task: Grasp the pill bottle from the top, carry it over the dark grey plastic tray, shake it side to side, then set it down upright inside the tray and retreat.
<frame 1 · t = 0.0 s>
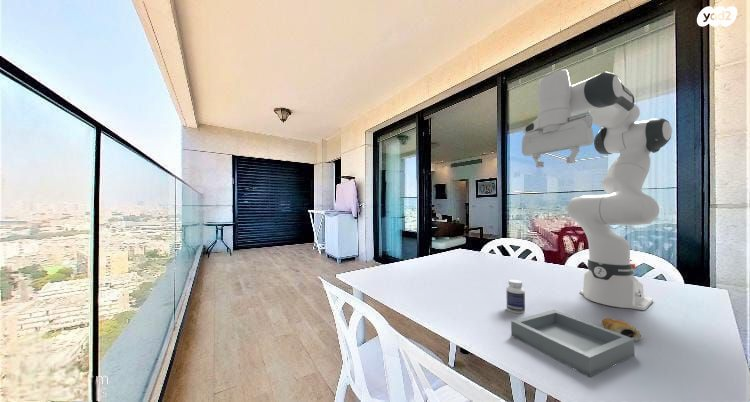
hand: (554, 165, 82), 48 cm above the table, tool pointing down, fingers open, 8 cm apart
pill bottle: (515, 311, 85), on the table
tray: (568, 345, 64), on the table
pastry: (618, 335, 70), on the table
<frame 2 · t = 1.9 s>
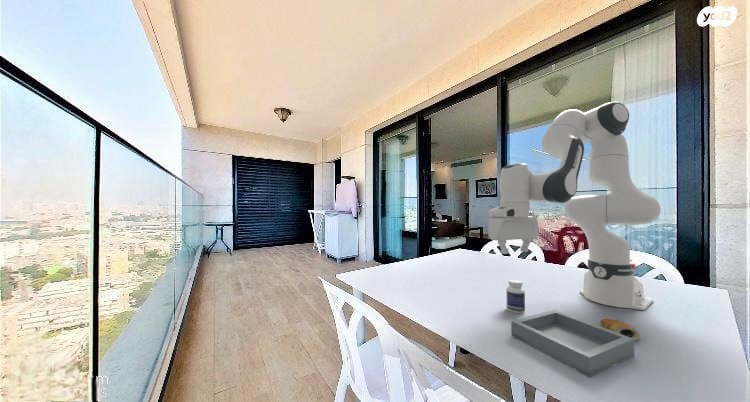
hand: (514, 252, 85), 19 cm above the table, tool pointing down, fingers open, 8 cm apart
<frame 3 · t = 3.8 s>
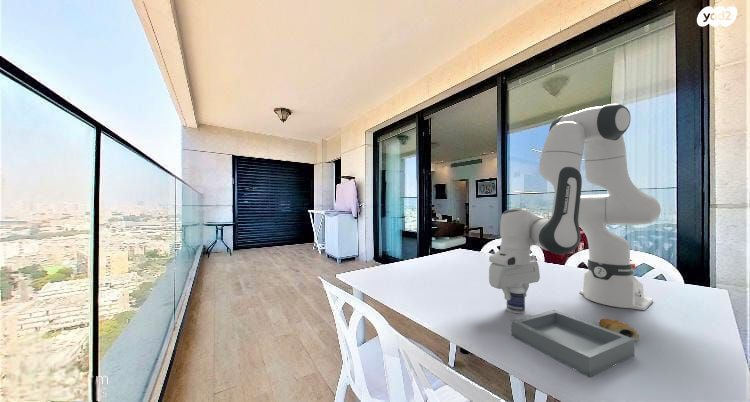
hand: (515, 298, 85), 4 cm above the table, tool pointing down, fingers closed on pill bottle, 5 cm apart
pill bottle: (515, 311, 85), on the table, touching gripper
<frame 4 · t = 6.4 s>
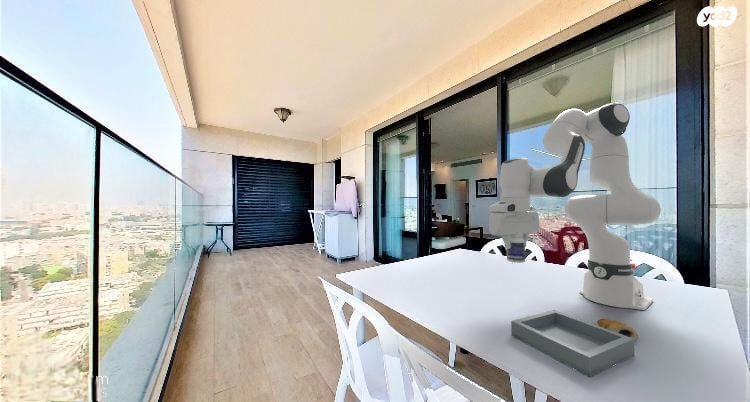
hand: (515, 247, 85), 21 cm above the table, tool pointing down, fingers closed on pill bottle, 5 cm apart
pill bottle: (515, 261, 85), point 16 cm above the table, touching gripper
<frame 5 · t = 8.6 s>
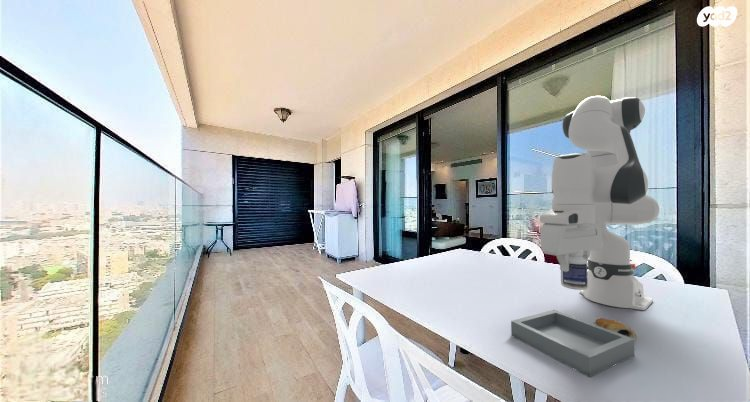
hand: (573, 269, 65), 19 cm above the table, tool pointing down, fingers closed on pill bottle, 5 cm apart
pill bottle: (574, 287, 65), point 14 cm above the table, touching gripper
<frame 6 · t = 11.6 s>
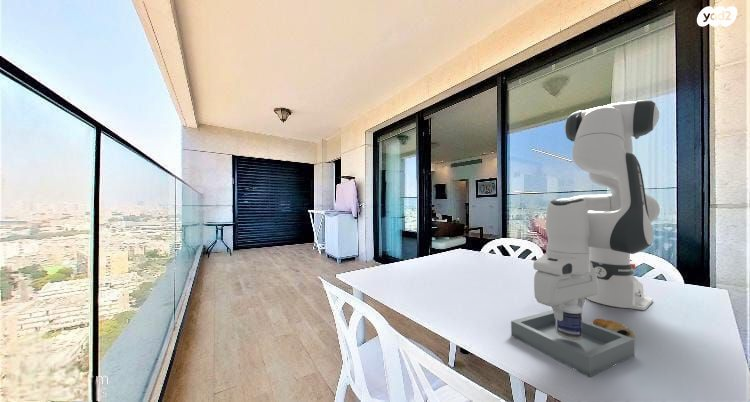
hand: (568, 317, 64), 7 cm above the table, tool pointing down, fingers closed on pill bottle, 5 cm apart
pill bottle: (568, 335, 64), point 2 cm above the table, touching gripper
when the fingers open (7 cm above the table, at t = 12.1 s): pill bottle drops 1 cm, resting on tray.
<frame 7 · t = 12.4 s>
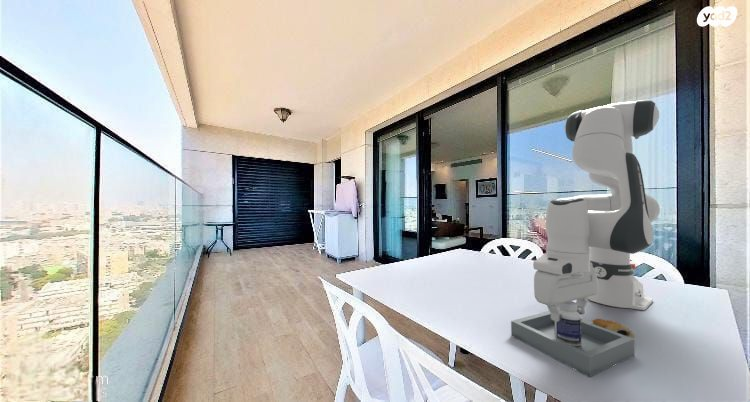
hand: (568, 316, 64), 7 cm above the table, tool pointing down, fingers open, 8 cm apart
pill bottle: (567, 342, 64), point 1 cm above the table, touching tray
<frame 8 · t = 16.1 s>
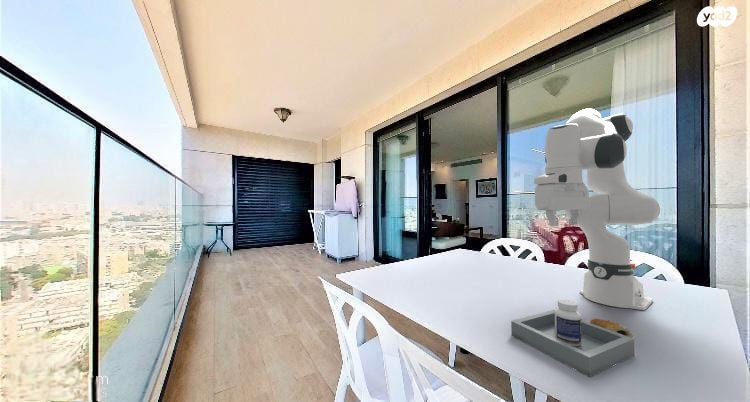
hand: (563, 225, 75), 29 cm above the table, tool pointing down, fingers open, 8 cm apart
at the end: pill bottle inside the target area on the tray (0.2 cm from its centre), point 0.8 cm above the tray's base; pill bottle tilted 0°; the gripper is holding nothing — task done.
